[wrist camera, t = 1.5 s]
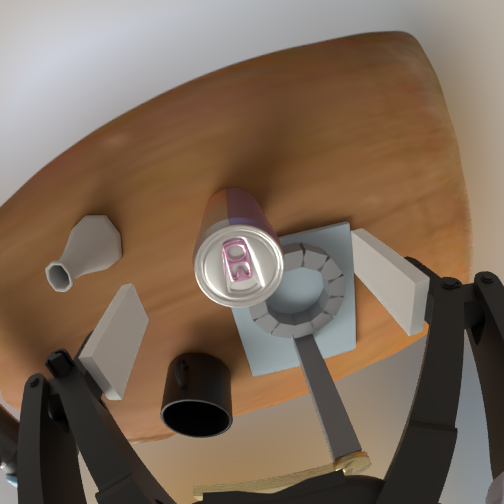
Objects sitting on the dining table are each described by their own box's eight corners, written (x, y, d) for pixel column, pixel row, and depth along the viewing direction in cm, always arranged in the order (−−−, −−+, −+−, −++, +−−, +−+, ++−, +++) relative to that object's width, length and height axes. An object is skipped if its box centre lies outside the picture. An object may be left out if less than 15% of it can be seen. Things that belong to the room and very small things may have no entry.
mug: (212, 331, 37) (211, 380, 28) (237, 387, 41) (241, 432, 33) (150, 344, 37) (137, 390, 28) (182, 397, 41) (178, 440, 33)
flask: (86, 275, 32) (51, 316, 23) (65, 224, 30) (20, 253, 20) (131, 260, 32) (102, 302, 23) (110, 204, 29) (69, 230, 20)
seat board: (252, 372, 40) (271, 494, 21) (215, 252, 33) (209, 390, 14) (353, 344, 40) (411, 449, 21) (346, 221, 33) (462, 309, 14)
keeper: (365, 461, 20) (369, 470, 18) (203, 494, 19) (203, 503, 18) (369, 446, 18) (373, 457, 17) (189, 482, 18) (189, 493, 17)
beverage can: (253, 181, 30) (279, 212, 16) (263, 232, 32) (293, 299, 18) (199, 193, 30) (179, 235, 16) (212, 243, 32) (205, 318, 18)
